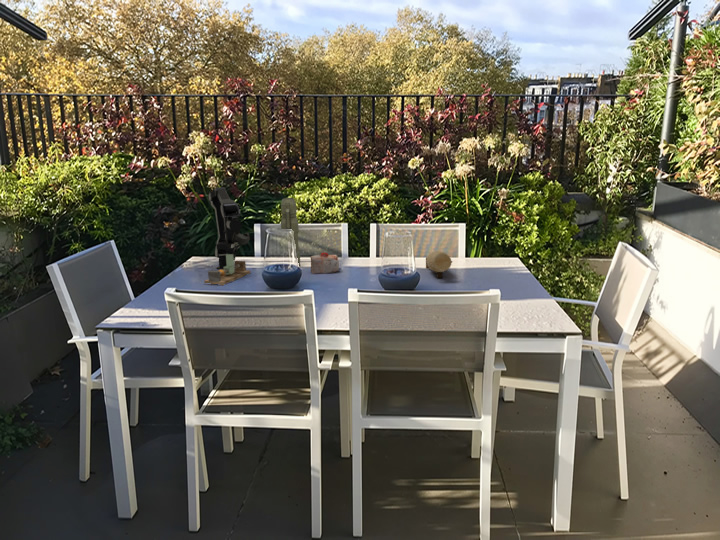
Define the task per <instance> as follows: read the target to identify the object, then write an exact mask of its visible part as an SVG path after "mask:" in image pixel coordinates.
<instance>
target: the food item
mask: <svg viewBox="0 0 720 540" xmlns="http://www.w3.org/2000/svg"><path fill="white" fill-rule="evenodd" d="M339 269H340V260H339V257H338V255H337V254H329V253H328V252H321V253H320V255H319V254H318V255H316V254H315V255H311V256H310V272H311V274H313V275H314V274H332V273H337V272H338V271H339Z"/></svg>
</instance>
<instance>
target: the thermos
mask: <svg viewBox="0 0 720 540" xmlns="http://www.w3.org/2000/svg"><path fill="white" fill-rule="evenodd" d="M280 211H281V220H280V230H281V229H292V230H293V231H294V240H295V244H296V251H297V258H298V263H299V266H300V267H301V254H300V253H299V252H300V249H299V229H300V228H299V221H298V217H297V203H296V200H295V198H293V197H284V198H282V200H281V202H280Z"/></svg>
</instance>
